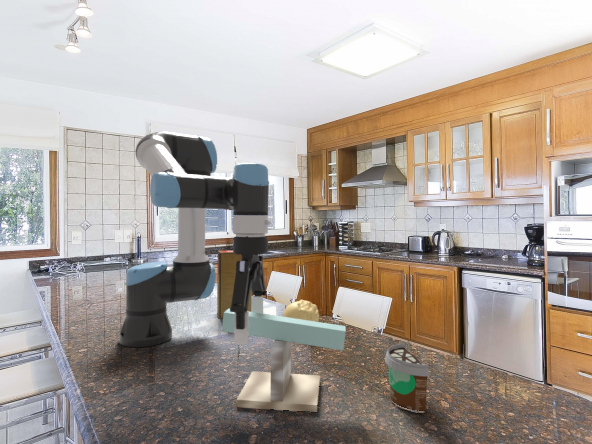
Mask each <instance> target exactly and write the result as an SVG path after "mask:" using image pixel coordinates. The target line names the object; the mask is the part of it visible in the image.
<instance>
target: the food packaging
mask: <svg viewBox="0 0 592 444" xmlns="http://www.w3.org/2000/svg"><path fill="white" fill-rule="evenodd" d="M241 259H242V255H241V254H235V253H234V252H233V250H217V265H216V266H217V273H216V274H217V275H216V276H217V277H216V278H217V279H216V280H217V283H216V284H217V286H216V291H217V292H216V295H217V296H216V302H217V304H216V305H217V307H216V308H217V311H216V315H217V317H218V319H220V320H221V319H222V320H223V316H224V312H225V311H226V310H228V309H229V308H230V307H231V304H232V297H233V290H234V283H235V275H236V262H237V261H241ZM251 296H254V295H253V293H252V289H251V292H250V298H249V303H248V310H247V311H249V312H251ZM240 305H241V304H240Z"/></svg>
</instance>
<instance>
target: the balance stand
mask: <svg viewBox="0 0 592 444" xmlns="http://www.w3.org/2000/svg"><path fill="white" fill-rule="evenodd" d="M319 386H320V387H321V375H316V374H304V373H303V374H299V373H292V342H287V341H281V340H275V339H274V341H273V343H272V344H271V346H270V371H269V372H267V371H264V372H263V371H255V370H254V371H252V372H251V373H250V375H249V377H248V379H247V380H246V382H245V384H244V386H243V387H242V389H241V391H240V393H239V394H238V396H237V398H236V408H243V409H244V408H245V409H257V410H258V409H259V410H270V409H274V410H273V411H283V410H289V411H288V412H297V411H310V412H309V413H311V411H314V412H317V413H318V406H317V405H318V403H319V397H318V396H320V395H319V394H320V387H319Z"/></svg>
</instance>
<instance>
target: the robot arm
mask: <svg viewBox="0 0 592 444" xmlns="http://www.w3.org/2000/svg"><path fill="white" fill-rule="evenodd" d="M135 157H136V160H137V163H139V165H140V166H141V167H142V168H143V169H145V170H146V171H147V172H148V173H149V175H150V177H151V178H150V187H149V193H150V194H149V195H150V201H151V204H152V205H153V206H154V207H157V208H167V209H178V211H177V212H178V214H177V215H178V220H177V221H178V224H177V227H178V231H177V232H178V233H177V255H176V256H175V257H174V258H173V259H172V265H168V264H167V262H166V261H155V262H154V261H153V262H152V261H151V262H147V263H143V264H142V263H141V264H138V265H134V266H131V267H129V268H128V270H127V272H126V277H125V282H124V283H125V284H124V285H125V317H124V321H123V323H122V326H121V330H120V332H119V336H118V337H119V339H118V343H119V344H120V345H121V346H123V347H126V348H145V347H146V348H148V347H151V346H153V347H154V346H157V345H160V344H163V343H165V342H168V341H169V340H171V339H172V337H173V327H172V324H171V322H170V319H169V316H168V313H167V312H168V311H167V304H170V303H178V302H187V301H198V300H203V299H207V298H209V297H210V296H211V295H212V293H213V291H214V289H215V285H216V280H217V279H216V278H217V277H216V276H217V275H216V274H217V273H216V268H215V265H214V264H213V263H211V262H210V257H208V256H207V254H206V209H209V210H210V209H211V210H212V209H213V210H227V211H233V212H232V215H233V216H232V217H233V218H232V233H233V235H235V236H234V237H233V238H232V251H233V252H234V253H235V254H241V255H242V259H241V261H237V262H236V275H235V283H234V290H233V297H232V304H231V307H230V312H235V323H234V333H233V334H234V338H233V340H234V341H233V343H234V345H237V346H238V345H239V346H240V345H241V346H248V345H249V343H250V342H249V341H250V340H249V339H250V337H249V336H250V335H249V311H247V310H248V303H249V298H250V292H251V289H252V293H253V296H251V312H256V313H262V314H264V296H267V295H268V294H267V292H268V291H267V290H266V282H265V274H264V265H263V264H264V263H263V261H264V260H263V258H264V256H263V255H266V254H267V253H268V252H269V238H268V236H266V235H267V234H268V233H269V226H270V225H271V220H270V219H269V217H268V216H269V193H270V192H269V186H270V181H269V169H268V167H267V166H266V165H265V164H263V163H262V164H261V163H255V162H242V163H237V164H235V165H234V167H233V174H232V177H228V176H227V177H226V176H212V174H214V173H215V172H216V170H217V166H218V153H217V147H216V145H215V144H214V142H213V140H212V139H210V138H208V137H204V136H200V135H193V134H185V133H179V132H178V133H177V132H169V131H157V132H156V131H155V132H152V133H149V134H147V135H144V137H142V138H141V139H140V140H139V141H138V143H137V144H136V147H135ZM240 304H241V305H240Z"/></svg>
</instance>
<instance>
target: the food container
mask: <svg viewBox="0 0 592 444" xmlns="http://www.w3.org/2000/svg"><path fill="white" fill-rule="evenodd" d="M384 362H385V364H386V365H387V366H388V380H389V395H390V397H391V398H390V401H391V400H392V401H393V402H394V403H396V404H397V405H399V406H401V407H404V408H407V409H412V410H417V411H418V410H419V411H425V412H426V410H427V409H426V405H427V392H428V391H427V389H428V378H429V377H430V369H429V364H427V363H425V364H423V363H421V362H420V361H419V359H418V358H417V357H416V356H415V355H414V354H413V353H411V352H409V351H408V350H407V349H406V344H405V343H398V344H397V343H396V344H394V345H391V346H389V347H388V348H387V351H386V353H385V357H384Z"/></svg>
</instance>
